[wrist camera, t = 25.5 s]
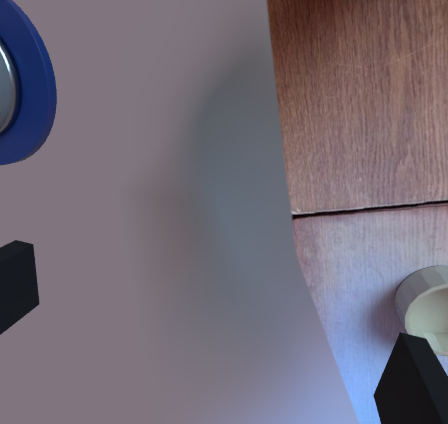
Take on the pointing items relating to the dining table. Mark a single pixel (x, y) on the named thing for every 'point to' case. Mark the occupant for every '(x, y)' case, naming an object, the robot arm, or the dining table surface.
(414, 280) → the shallow faceted dish
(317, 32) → the dining table surface
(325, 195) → the dining table surface
